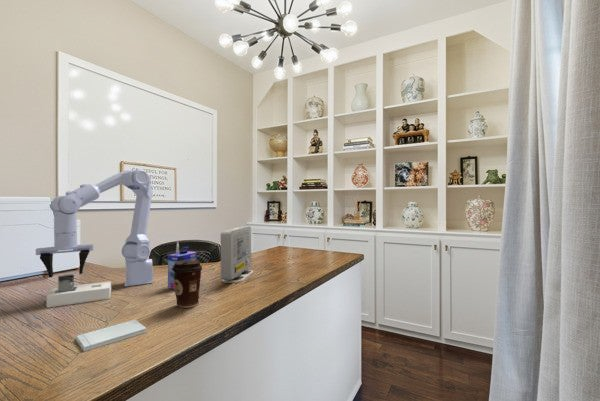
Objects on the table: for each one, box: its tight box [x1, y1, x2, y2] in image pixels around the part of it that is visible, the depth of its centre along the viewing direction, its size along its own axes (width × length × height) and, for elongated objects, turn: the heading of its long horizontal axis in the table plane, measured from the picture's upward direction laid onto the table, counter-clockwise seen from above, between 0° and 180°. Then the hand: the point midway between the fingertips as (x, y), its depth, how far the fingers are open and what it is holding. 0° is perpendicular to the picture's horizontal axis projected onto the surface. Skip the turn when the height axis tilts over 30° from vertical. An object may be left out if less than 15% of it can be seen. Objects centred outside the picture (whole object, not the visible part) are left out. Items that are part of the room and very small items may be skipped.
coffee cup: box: [172, 260, 203, 309], centre depth 91 cm, size 9×8×13 cm
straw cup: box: [167, 246, 198, 290], centre depth 112 cm, size 10×6×14 cm, turn 158°
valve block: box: [46, 280, 112, 309], centre depth 98 cm, size 16×10×4 cm, turn 120°
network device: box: [220, 225, 254, 284], centre depth 124 cm, size 26×9×20 cm, turn 172°
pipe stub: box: [57, 273, 75, 293], centre depth 96 cm, size 4×4×8 cm
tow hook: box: [175, 240, 180, 253], centre depth 148 cm, size 8×13×9 cm
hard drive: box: [75, 319, 148, 352], centre depth 70 cm, size 2×8×12 cm
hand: (66, 275), depth 96 cm, fingers open, 7 cm apart
